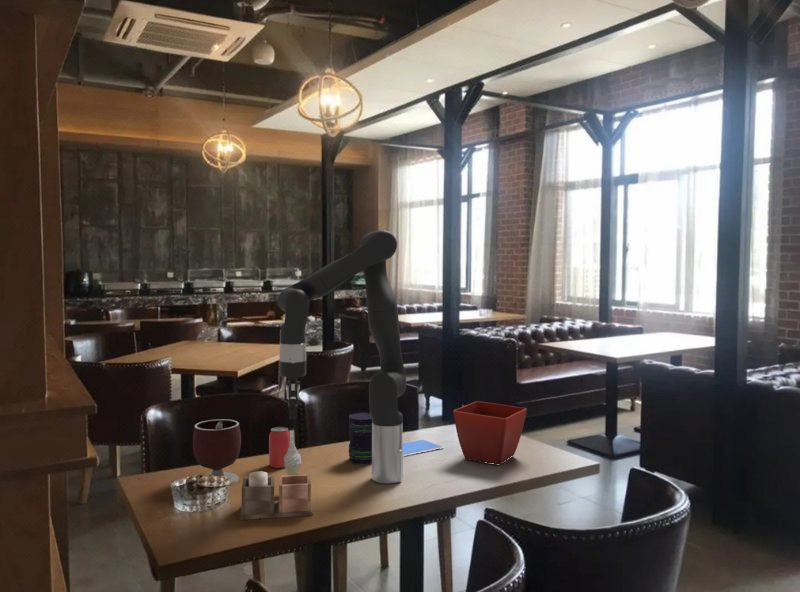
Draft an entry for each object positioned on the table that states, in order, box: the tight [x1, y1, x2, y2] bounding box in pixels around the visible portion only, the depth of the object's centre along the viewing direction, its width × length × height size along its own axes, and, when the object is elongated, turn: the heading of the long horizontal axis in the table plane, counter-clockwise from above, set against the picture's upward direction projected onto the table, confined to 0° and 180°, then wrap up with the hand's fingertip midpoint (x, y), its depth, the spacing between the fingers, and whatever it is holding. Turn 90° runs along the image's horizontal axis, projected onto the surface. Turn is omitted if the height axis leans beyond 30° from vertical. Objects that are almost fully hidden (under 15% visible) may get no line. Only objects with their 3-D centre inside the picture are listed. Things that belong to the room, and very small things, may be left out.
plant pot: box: [453, 401, 528, 465], centre depth 218 cm, size 19×19×17 cm
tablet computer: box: [402, 439, 444, 457], centre depth 229 cm, size 19×13×1 cm, turn 125°
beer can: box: [268, 426, 291, 469], centre depth 209 cm, size 7×7×12 cm
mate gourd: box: [192, 418, 242, 486], centre depth 193 cm, size 16×14×20 cm
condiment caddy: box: [239, 470, 314, 521], centre depth 171 cm, size 18×9×10 cm, turn 100°
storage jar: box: [348, 412, 372, 466], centre depth 215 cm, size 10×10×15 cm
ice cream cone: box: [284, 439, 303, 475], centre depth 185 cm, size 5×5×15 cm
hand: (292, 415), depth 184 cm, fingers open, 8 cm apart
